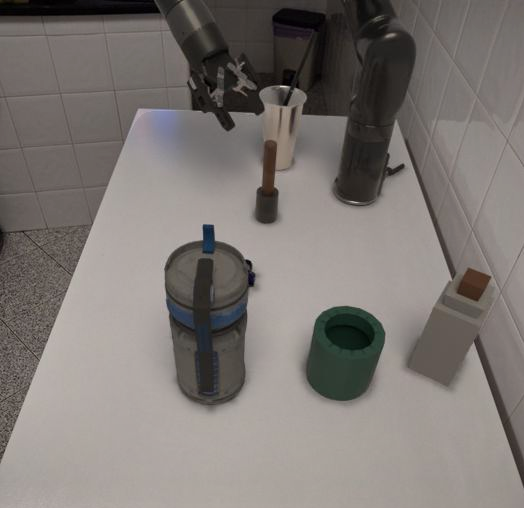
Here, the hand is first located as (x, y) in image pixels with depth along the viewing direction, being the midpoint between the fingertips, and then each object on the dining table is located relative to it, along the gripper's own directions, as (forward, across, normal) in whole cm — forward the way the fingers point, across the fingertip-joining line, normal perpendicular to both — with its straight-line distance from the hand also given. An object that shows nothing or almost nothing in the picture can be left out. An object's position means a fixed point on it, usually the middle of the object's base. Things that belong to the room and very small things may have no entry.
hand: (246, 121), depth 93 cm
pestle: (+17, 0, +9) cm, 19 cm away
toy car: (+21, -20, +5) cm, 29 cm away
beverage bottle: (+31, -39, -5) cm, 50 cm away
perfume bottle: (+48, -13, -22) cm, 55 cm away
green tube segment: (+41, -25, -15) cm, 50 cm away
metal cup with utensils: (+10, +18, +16) cm, 26 cm away
